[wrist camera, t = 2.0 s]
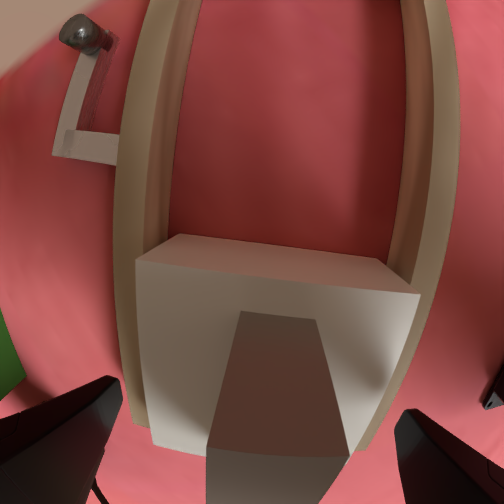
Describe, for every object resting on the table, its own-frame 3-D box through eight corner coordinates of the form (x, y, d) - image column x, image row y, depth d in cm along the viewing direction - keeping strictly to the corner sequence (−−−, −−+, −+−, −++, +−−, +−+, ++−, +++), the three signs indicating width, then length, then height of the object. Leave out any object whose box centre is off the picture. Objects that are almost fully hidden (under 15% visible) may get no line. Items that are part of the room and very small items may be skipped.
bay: (417, -12, 7) (440, -39, 5) (356, 419, 13) (367, 458, 10) (192, -43, 8) (176, -77, 5) (149, 394, 14) (128, 431, 11)
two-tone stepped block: (376, 258, 11) (517, 386, 3) (332, 406, 13) (359, 551, 5) (179, 233, 11) (17, 336, 3) (178, 388, 13) (117, 527, 5)
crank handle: (100, 39, 9) (66, 16, 6) (178, 36, 9) (154, 3, 6) (66, 156, 11) (22, 154, 8) (139, 168, 11) (100, 166, 8)
